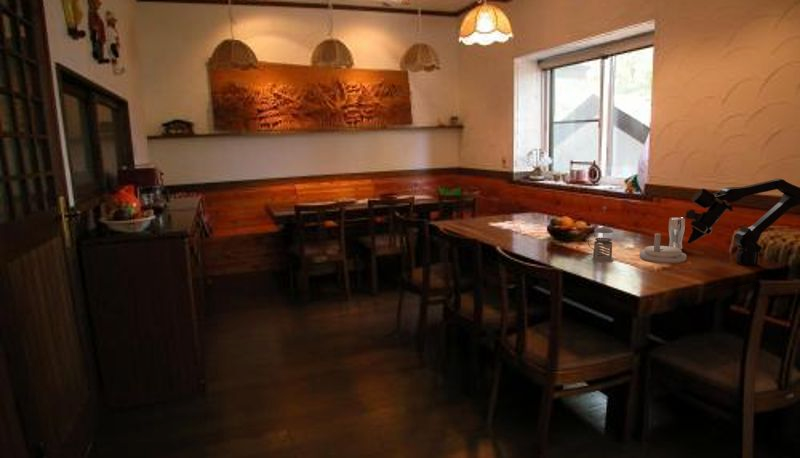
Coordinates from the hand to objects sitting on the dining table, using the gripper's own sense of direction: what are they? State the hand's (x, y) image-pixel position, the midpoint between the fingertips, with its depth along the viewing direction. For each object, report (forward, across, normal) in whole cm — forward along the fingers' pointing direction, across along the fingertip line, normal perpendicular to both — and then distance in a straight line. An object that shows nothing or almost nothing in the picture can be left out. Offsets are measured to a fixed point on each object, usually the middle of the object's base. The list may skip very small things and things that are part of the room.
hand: (688, 243), depth 214 cm
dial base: (+12, -5, -5) cm, 14 cm away
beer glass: (+7, -29, -7) cm, 31 cm away
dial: (+10, -5, -6) cm, 13 cm away
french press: (+27, +12, -22) cm, 37 cm away
